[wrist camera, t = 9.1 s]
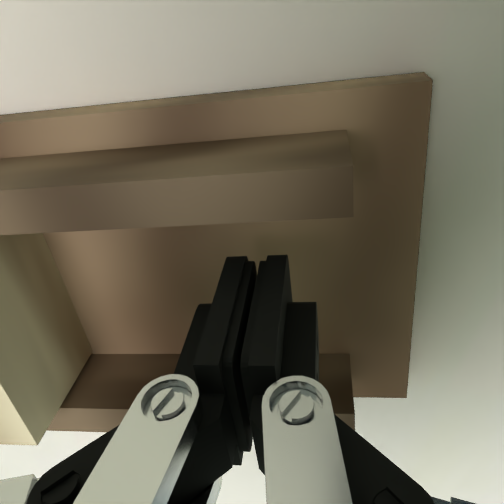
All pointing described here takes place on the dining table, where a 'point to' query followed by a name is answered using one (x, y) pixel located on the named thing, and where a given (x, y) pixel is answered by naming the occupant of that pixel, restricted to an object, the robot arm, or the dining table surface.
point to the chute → (227, 223)
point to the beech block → (35, 339)
